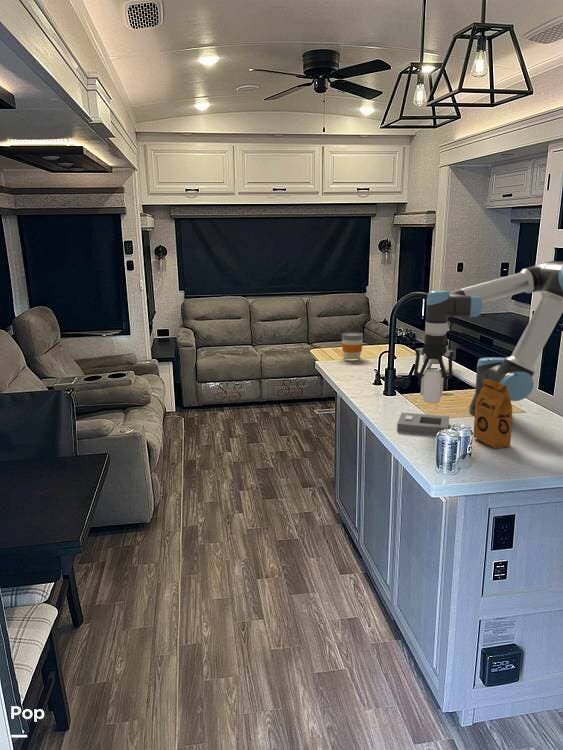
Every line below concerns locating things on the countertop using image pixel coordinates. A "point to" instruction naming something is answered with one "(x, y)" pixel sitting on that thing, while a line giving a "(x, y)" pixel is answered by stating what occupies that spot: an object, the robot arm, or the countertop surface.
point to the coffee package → (493, 415)
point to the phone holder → (430, 361)
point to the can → (432, 385)
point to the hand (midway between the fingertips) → (431, 394)
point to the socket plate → (422, 423)
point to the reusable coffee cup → (352, 345)
